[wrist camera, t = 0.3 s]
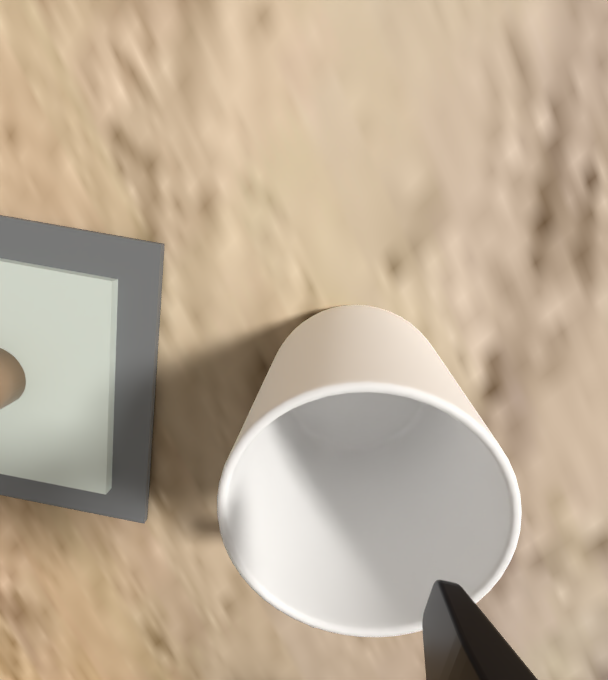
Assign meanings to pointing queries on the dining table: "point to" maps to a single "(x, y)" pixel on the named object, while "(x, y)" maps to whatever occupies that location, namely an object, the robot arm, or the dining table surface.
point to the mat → (131, 355)
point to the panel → (57, 375)
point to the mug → (365, 480)
